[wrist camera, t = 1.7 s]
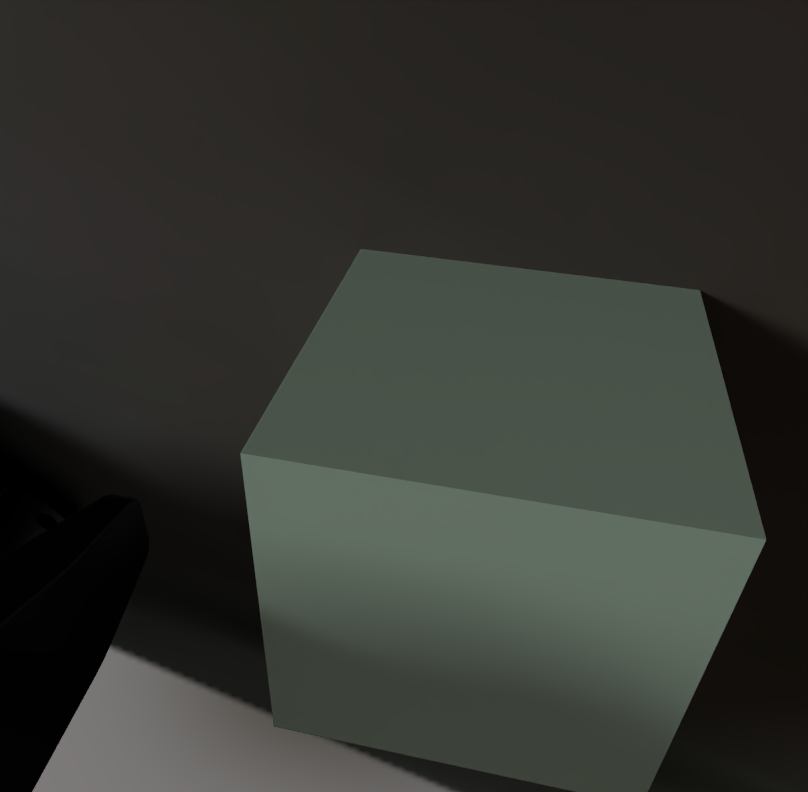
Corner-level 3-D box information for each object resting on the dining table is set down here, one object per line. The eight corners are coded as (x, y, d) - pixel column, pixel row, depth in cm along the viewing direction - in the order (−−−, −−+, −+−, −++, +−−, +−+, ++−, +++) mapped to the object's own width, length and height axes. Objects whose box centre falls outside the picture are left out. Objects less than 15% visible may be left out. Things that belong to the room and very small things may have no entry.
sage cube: (699, 287, 11) (766, 540, 7) (625, 530, 14) (641, 805, 10) (361, 246, 11) (240, 453, 7) (361, 486, 14) (274, 726, 10)
